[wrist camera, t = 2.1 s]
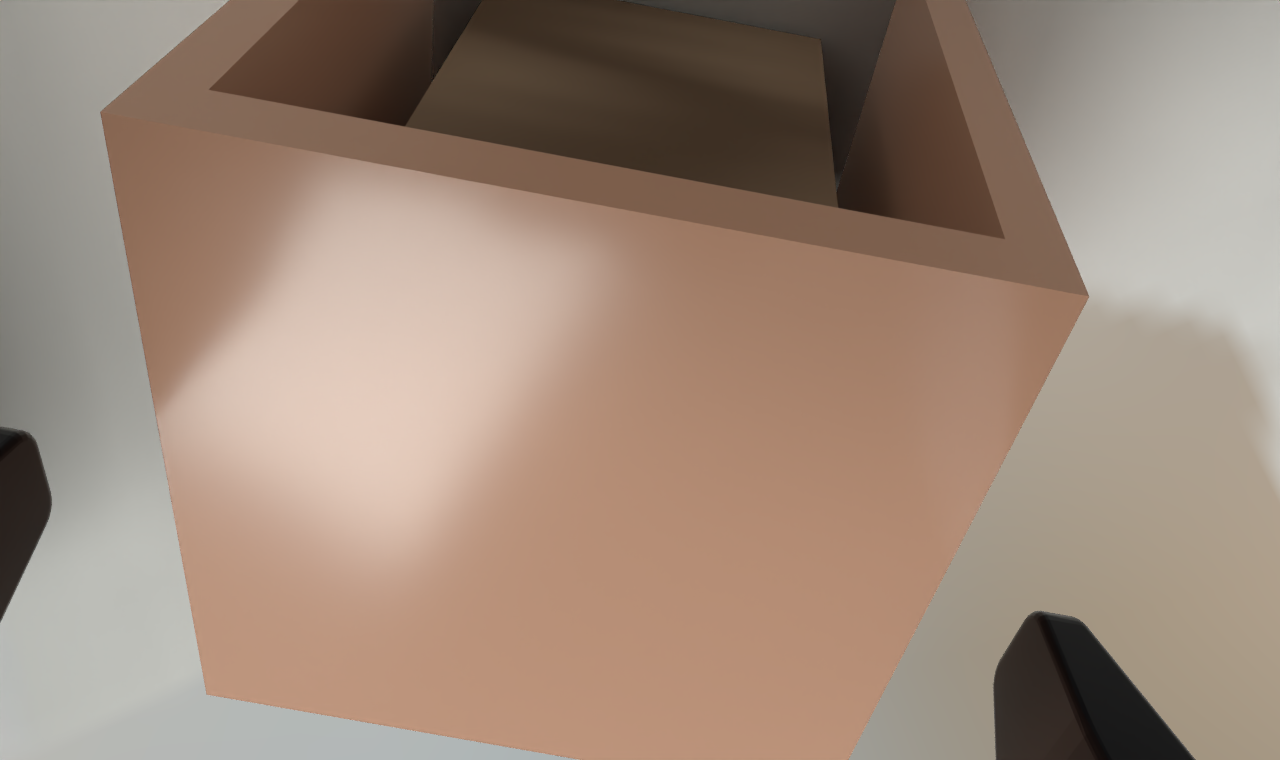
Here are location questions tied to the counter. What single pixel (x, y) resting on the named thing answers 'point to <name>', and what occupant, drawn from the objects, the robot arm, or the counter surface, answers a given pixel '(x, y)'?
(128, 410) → the counter surface
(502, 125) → the walnut block
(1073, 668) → the robot arm
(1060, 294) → the terracotta hood
